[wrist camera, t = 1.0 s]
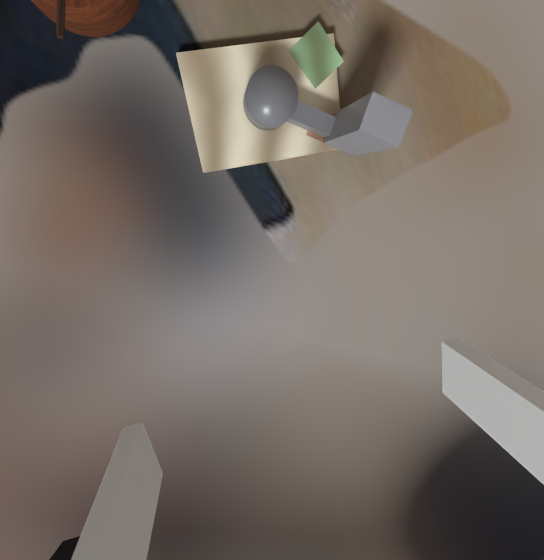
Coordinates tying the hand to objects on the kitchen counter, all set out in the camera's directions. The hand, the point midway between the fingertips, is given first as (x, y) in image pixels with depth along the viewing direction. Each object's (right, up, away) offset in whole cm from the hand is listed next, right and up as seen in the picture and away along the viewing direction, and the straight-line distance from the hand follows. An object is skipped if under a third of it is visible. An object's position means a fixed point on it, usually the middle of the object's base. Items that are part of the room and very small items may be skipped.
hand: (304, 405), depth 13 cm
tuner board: (-2, +24, +20) cm, 31 cm away
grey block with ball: (+2, +23, +20) cm, 30 cm away
